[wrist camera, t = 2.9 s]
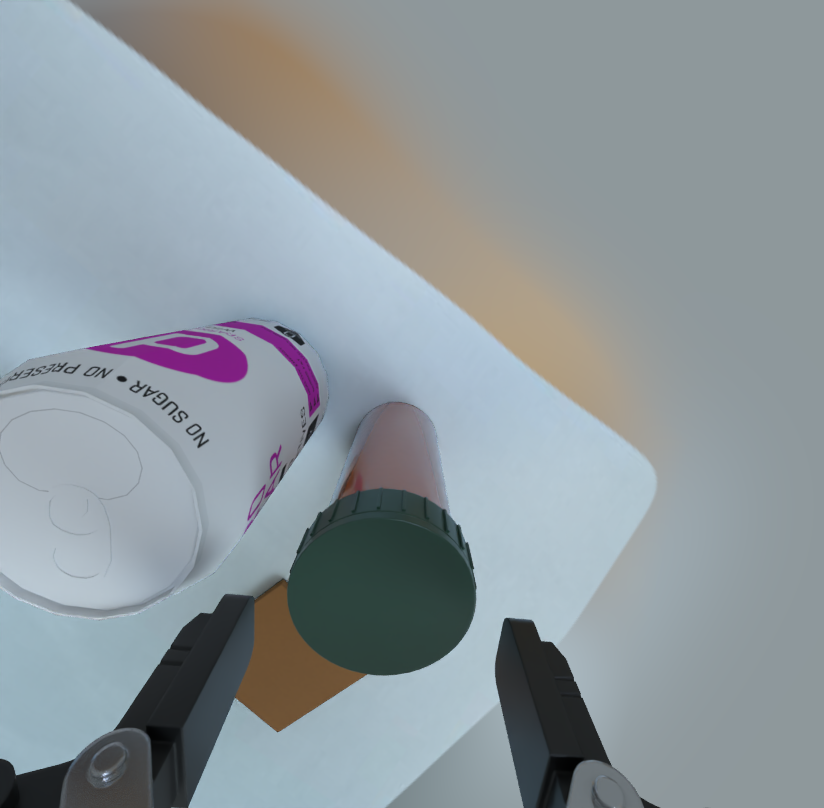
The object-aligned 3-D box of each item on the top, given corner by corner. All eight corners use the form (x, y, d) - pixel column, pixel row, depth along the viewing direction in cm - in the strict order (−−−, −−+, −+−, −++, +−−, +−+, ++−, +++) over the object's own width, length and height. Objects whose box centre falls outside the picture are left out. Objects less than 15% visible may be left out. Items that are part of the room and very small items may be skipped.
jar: (402, 385, 25) (393, 488, 12) (453, 446, 26) (494, 600, 13) (339, 435, 26) (268, 581, 13) (391, 491, 27) (373, 678, 14)
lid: (396, 452, 13) (394, 477, 12) (503, 573, 15) (516, 613, 13) (265, 552, 14) (244, 590, 13) (375, 656, 16) (371, 705, 14)
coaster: (283, 578, 29) (280, 584, 29) (374, 663, 31) (373, 670, 31) (187, 648, 31) (183, 655, 30) (279, 725, 33) (277, 733, 32)
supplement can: (198, 307, 24) (-124, 336, 10) (337, 329, 24) (230, 389, 10) (196, 436, 26) (-67, 617, 12) (325, 454, 27) (221, 651, 12)
